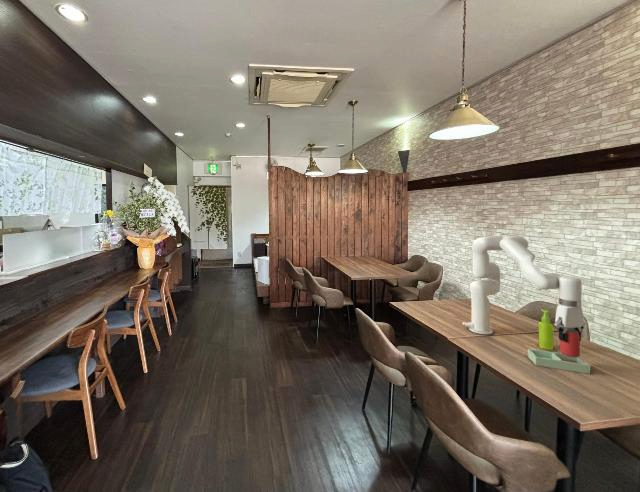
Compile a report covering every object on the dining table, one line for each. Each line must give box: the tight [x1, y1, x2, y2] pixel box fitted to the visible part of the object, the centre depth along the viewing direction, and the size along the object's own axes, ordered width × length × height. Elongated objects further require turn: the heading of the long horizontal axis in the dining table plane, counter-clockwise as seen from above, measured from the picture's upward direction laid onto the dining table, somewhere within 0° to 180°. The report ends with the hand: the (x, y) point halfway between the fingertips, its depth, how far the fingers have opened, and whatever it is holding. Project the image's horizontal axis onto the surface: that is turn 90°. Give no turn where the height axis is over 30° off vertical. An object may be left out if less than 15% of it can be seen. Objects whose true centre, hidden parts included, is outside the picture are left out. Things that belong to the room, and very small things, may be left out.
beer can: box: [559, 327, 581, 357], centre depth 136 cm, size 7×7×12 cm
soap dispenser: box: [538, 309, 554, 351], centre depth 156 cm, size 6×7×20 cm
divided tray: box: [527, 348, 591, 375], centre depth 138 cm, size 19×10×4 cm, turn 66°
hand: (569, 339), depth 136 cm, fingers closed on beer can, 6 cm apart
